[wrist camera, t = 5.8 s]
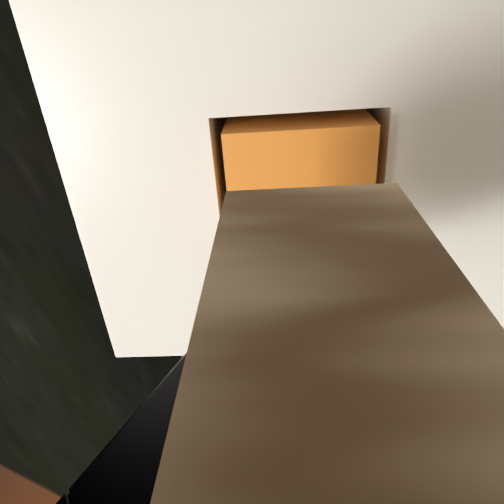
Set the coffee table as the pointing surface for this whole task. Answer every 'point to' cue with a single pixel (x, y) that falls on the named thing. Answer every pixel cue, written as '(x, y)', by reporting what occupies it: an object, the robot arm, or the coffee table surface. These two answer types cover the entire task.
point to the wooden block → (335, 361)
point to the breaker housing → (248, 104)
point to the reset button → (300, 150)
